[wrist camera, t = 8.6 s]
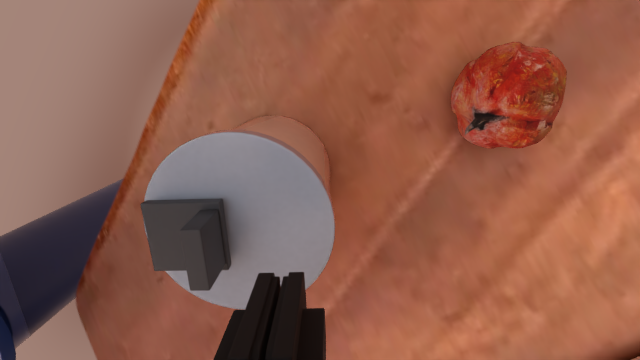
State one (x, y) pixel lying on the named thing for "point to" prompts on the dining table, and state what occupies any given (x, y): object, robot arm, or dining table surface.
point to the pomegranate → (509, 96)
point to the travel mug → (257, 201)
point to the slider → (188, 238)
